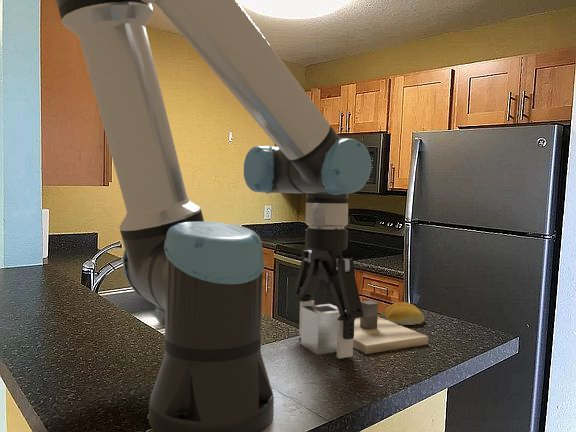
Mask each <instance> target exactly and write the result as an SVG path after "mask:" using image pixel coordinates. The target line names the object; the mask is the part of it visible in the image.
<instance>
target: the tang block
mask: <svg viewBox="0 0 576 432" xmlns="http://www.w3.org/2000/svg"><path fill="white" fill-rule="evenodd" d="M361 305H362V309H363V314H364V315H363V317H362V318H356V319H355V321H354V338H353V349H355V350H358V351H360V352H361V353H363V354H365V355H368V354H375V353H381V352H387V351H394V350H400V349H401V350H402V349H405V348H406V349H407V348H411V347H413V348H414V347H419V346H425V345H428V344H429V336H428V335H425V334H424V333H421V332H418V331H415V330H413V329H411V328H408V327H407V326H406V327H405V326H403V325H398V324H396V323H393V322H390V321H388V320H387V319H385V318H382V317H380V316H379V314H378V312H379V303H378V302H375V301H373V300H364V301H361Z"/></svg>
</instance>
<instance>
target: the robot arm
mask: <svg viewBox="0 0 576 432" xmlns="http://www.w3.org/2000/svg"><path fill="white" fill-rule="evenodd" d="M54 2H55V3H56V6H57V9H58V13H59V16H60V19H61V23H62V25H63V26H64V27H65V28H66V29H67V30H70V31H71V32H72V33H73V34H75V35H76V36H77V37H78V39H79V42H80V45H81V51H82V53H83V56H84V61H85V64H86V68H87V71H88V75H89V78H90V83H91V86H92V89H93V93H94V97H95V101H96V103H97V104H96V105H97V108H98V111H99V112H98V113H99V114H100V119H101V123H102V126H103V129H104V133H105V138H106V140H107V145H108V147H109V151H110V155H111V159H112V163H113V167H114V170H115V173H116V176H117V181H118V186H119V188H120V193H121V195H122V199H123V202H124V206H125V209H126V214H125V216H124V218H123V220H122V221H121V223H120V224H119V227H118V228H119V231H120V236H121V239H122V242H123V246H124V252H123V255H122V269H123V273H124V276H125V278H126V280H127V281H128V284H129V286H130V287H131V288H132V290H133V291H134V292H136V294H137V295H139V296H140V297H141V298H142V299H144V301H147V302H150V303H151V304H153V305H155V306H156V307H158V308H160V309H162V310H163V311H164V355H163V360H162V362H161V364H160V365H161V366H160V368H159V371H158V374H157V377H156V380H155V382H154V383H155V384H154V386H153V389H152V391H151V394H150V398H149V402H148V424H149V426H150V428H151V429H152V430H153V432H262V431H263V430H265V429H266V428H267V427H268V426H269V425H271V422H272V420H273V419H274V413H275V412H274V410H275V409H274V408H275V407H274V406H275V401H274V400H275V398H274V393H273V389H272V386H271V382H270V378H269V376H268V373H267V368H266V367H265V363H264V358H263V355H262V348H261V347H262V346H261V344H262V343H261V341H262V339H261V338H262V309H263V307H262V306H263V304H262V303H263V271H264V269H265V262H264V253H263V242H262V240H261V237H260V236H259V235H258V233H257V232H256V231H255V230H252V229H250V228H247V227H245V226H241V225H239V224H232V223H231V224H230V223H225V222H219V221H205V219H204V216H203V212H202V207H201V206H200V205H198V204H196V203H195V202H193V201H192V200H190V199H189V198H188V195H187V191H186V187H185V183H184V179H183V175H182V171H181V167H180V163H179V158H178V155H177V151H176V146H175V142H174V139H173V134H172V130H171V126H170V125H171V124H170V123H169V122H170V121H169V117H168V114H167V110H166V106H165V102H164V98H163V93H162V90H161V85H160V82H159V78H158V74H157V69H156V65H155V60H154V56H153V54H152V53H153V51H152V49H151V44H150V40H149V36H148V33H147V29H146V28H147V25H148V23H149V22H150V20H151V18H152V17H153V15H154V9H153V4H154V5H155V6H157V7H158V9H160V10H161V12H162V13H163V14H164V16H166V17H167V19H168V20H169V21H170V22H171V23H172V25H173V26H174V27H175V28H176V30H177V31H178V32H180V35H182V36H183V37H184V39H186V41H187V42H188V44H189V45H190V46H191V47H192V48H193V49H194V50H195V52H197V54H198V55H199V56H200V57H201V59H203V61H204V62H205V64H207V65H208V68H210V69H211V70H212V71H213V73H214V74H215V75H216V77H218V78H219V80H220V81H221V83H223V84H224V86H225V87H226V88H227V89H228V90H229V91H230V93H231V94H232V95H233V96H234V97H235V98H236V100H237V101H238V102H239V103H240V105H242V107H243V108H244V109H245V110H246V112H247V113H249V115H250V116H251V117H252V118H253V120H254V121H255V122H256V123H257V125H258V126H259V127H260V128H261V129H262V131H264V132H265V134H266V135H267V136H268V137H269V138H270V139H271V140H272V142H273V143H274V145H275V146H272V145H269V144H268V145H255V146H253V147H251V148H250V149H249V150H248V152H247V153H246V155H245V158H244V162H243V178H244V179H243V180H244V181H245V182H244V183H245V184H246V186H247V187H248V189H250V190H251V191H252V192H255V193H262V194H263V193H264V194H305V198H306V199H305V224H306V225H307V226H308V227H306V229H305V242H304V243H305V244H304V246H305V248H306V249H304V250H303V249H302V251H301V262H300V265H299V266H300V267H299V269H298V273H297V276H296V277H297V278H296V281H295V285H294V289H293V295H294V296H297V299H298V300H299V331H298V332H299V336H300V337H301V326H302V306H313V305H315V300H314V299H316V298H315V295H314V294H315V292H316V291H317V289H318V287H319V285H320V282H321V281H325V283H326V285H327V286H329V288H330V291H331V295H332V297H333V300H334V302H335V304H336V305H335V306H337V308H338V311H339V314H340V316H339V317H338V318H337V319H338V320H337V352H336V358H337V359H344V358H351V357H354V356H353V355H354V347H353V338H354V321H355V319H356V318H362V317H363V315H364V314H363V309H362V305H361V302H362V301H361V297H360V293H359V288H358V283H357V280H356V276H355V271H354V270H355V269H354V265H355V264H354V259H353V258H343V256H342V255H343V254H342V252H343V251H345V250H346V249H348V244H349V243H348V242H349V241H348V240H349V239H348V238H349V237H348V235H349V230H348V229H347V228H345V227H346V226H348V224H349V195H350V194H354V193H356V192H359V191H361V189H363V188H364V187H365V185H366V184H367V182H368V180H369V179H370V176H371V172H372V158H371V156H370V152H369V149H368V148H367V147H366V145H365V144H364V143H362V142H360V141H359V140H358V139H356V138H355V139H354V138H349V137H340V136H339V134H338V132H337V131H335V129H334V128H333V127H332V125H331V124H330V123H329V121H328V120H327V118H326V117H325V116H324V115H323V113H322V112H321V110H319V108H318V106H316V104H315V103H314V102H313V100H312V99H311V98H310V96H309V95H308V93H307V92H306V91H305V89H304V88H303V87H302V86H301V84H300V82H299V81H298V80H297V79H296V76H294V74H293V73H292V72H291V71H290V69H289V68H288V67H287V65H286V64H285V63H284V61H283V60H282V59H281V58H280V56H279V54H278V52H276V51H275V50H274V48H273V47H272V45H270V43H269V41H268V40H267V39H266V37H265V36H264V34H263V33H262V32H261V31H260V29H259V28H258V27H257V26H256V24H255V23H254V22H253V20H252V19H251V17H250V15H248V14H247V12H246V11H245V9H244V8H243V7H242V5H241V4H240V3H239V2H238V0H54ZM345 310H346V312H345Z"/></svg>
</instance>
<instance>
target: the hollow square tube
mask: <svg viewBox="0 0 576 432" xmlns="http://www.w3.org/2000/svg"><path fill="white" fill-rule="evenodd" d="M345 312H346V310H345ZM339 316H340V314H339V311H338V308H337V305H333V304H331V303H325V304H324V303H323V304H314V305H313V306H302V326H301V336H300V345H301V346H303V347H304V348H306V349H308V350H309V351H311V352H313V354H315V355H324V354H331V353H337V320H338V319H337V318H338V317H339Z"/></svg>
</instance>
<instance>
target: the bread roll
mask: <svg viewBox="0 0 576 432" xmlns="http://www.w3.org/2000/svg"><path fill="white" fill-rule="evenodd" d="M384 314H385V317H386V320H388V321H390V322H393V323H396V324H401V326H403V325H414V324H420V323H422V322H423V323H424V322H425V315H424V314H423V312H422V311H420V309H419V308H418V307H417V306H416V305H414V304H412V303H409V302H404V301H398V302H397V301H396V302H395V303H392V304H391V305H389V306H387V308H386V309H385V313H384ZM423 323H422V324H423ZM420 325H421V324H420Z"/></svg>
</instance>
